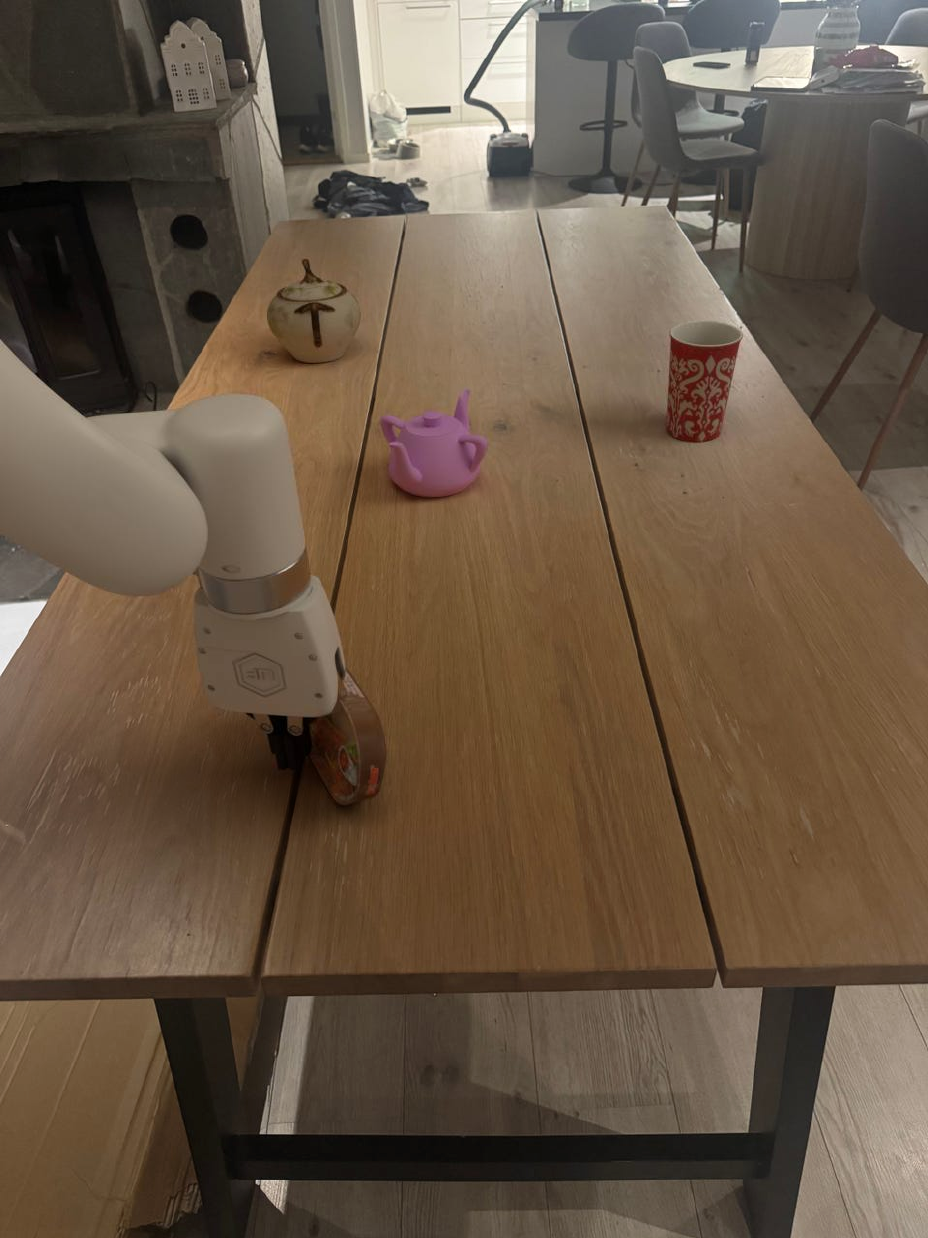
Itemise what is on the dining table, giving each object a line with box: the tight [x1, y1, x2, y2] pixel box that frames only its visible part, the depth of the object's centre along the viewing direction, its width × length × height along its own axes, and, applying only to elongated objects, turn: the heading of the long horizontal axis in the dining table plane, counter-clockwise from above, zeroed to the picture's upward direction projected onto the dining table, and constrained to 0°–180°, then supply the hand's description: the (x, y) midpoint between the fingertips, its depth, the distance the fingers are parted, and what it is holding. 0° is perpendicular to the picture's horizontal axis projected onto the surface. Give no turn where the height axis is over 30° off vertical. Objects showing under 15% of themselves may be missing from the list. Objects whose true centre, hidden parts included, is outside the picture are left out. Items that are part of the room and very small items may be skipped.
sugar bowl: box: [266, 258, 362, 364], centre depth 148 cm, size 20×15×15 cm
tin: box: [309, 665, 387, 806], centre depth 75 cm, size 15×3×8 cm, turn 27°
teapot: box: [380, 389, 489, 498], centre depth 114 cm, size 12×14×9 cm
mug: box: [665, 320, 744, 443], centre depth 122 cm, size 13×9×14 cm
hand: (293, 758), depth 76 cm, fingers closed
